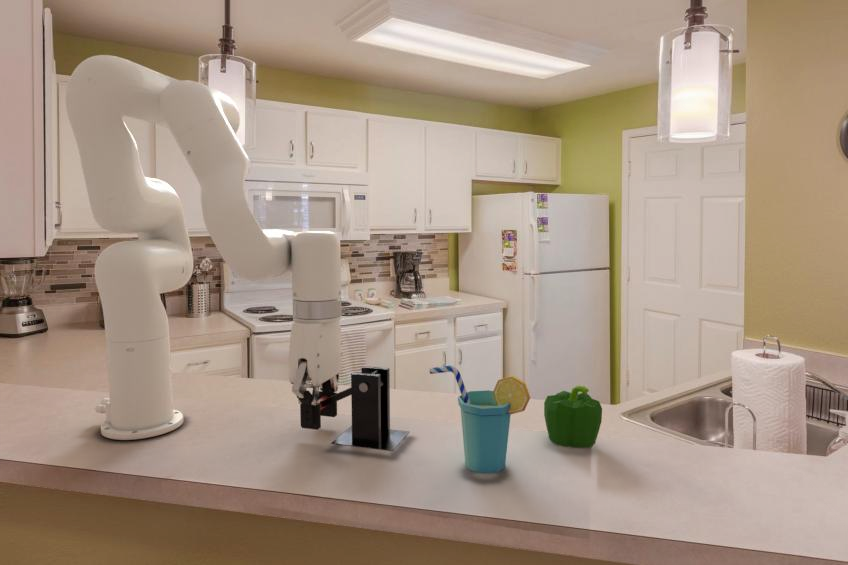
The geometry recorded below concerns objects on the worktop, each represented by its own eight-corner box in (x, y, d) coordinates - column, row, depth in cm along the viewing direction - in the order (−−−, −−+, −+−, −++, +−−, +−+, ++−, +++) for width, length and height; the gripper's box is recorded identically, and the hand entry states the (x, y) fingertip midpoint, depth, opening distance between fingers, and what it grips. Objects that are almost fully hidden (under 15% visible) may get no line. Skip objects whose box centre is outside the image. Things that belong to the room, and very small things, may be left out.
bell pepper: (535, 438, 92) (536, 377, 91) (582, 434, 94) (584, 374, 93) (558, 459, 84) (560, 393, 83) (609, 455, 85) (611, 389, 84)
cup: (423, 479, 78) (422, 371, 76) (435, 456, 85) (435, 357, 83) (527, 490, 74) (529, 377, 73) (530, 465, 82) (532, 363, 80)
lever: (311, 418, 89) (304, 405, 89) (325, 408, 94) (319, 395, 94) (375, 390, 86) (368, 376, 86) (387, 381, 90) (380, 367, 91)
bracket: (331, 450, 87) (329, 375, 86) (352, 432, 95) (351, 362, 94) (392, 458, 84) (392, 380, 83) (409, 438, 92) (409, 366, 91)
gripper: (320, 301, 99) (322, 403, 101) (266, 317, 83) (270, 438, 85) (360, 303, 97) (361, 407, 99) (313, 320, 81) (315, 444, 83)
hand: (319, 420), depth 92 cm, fingers closed on lever, 5 cm apart
